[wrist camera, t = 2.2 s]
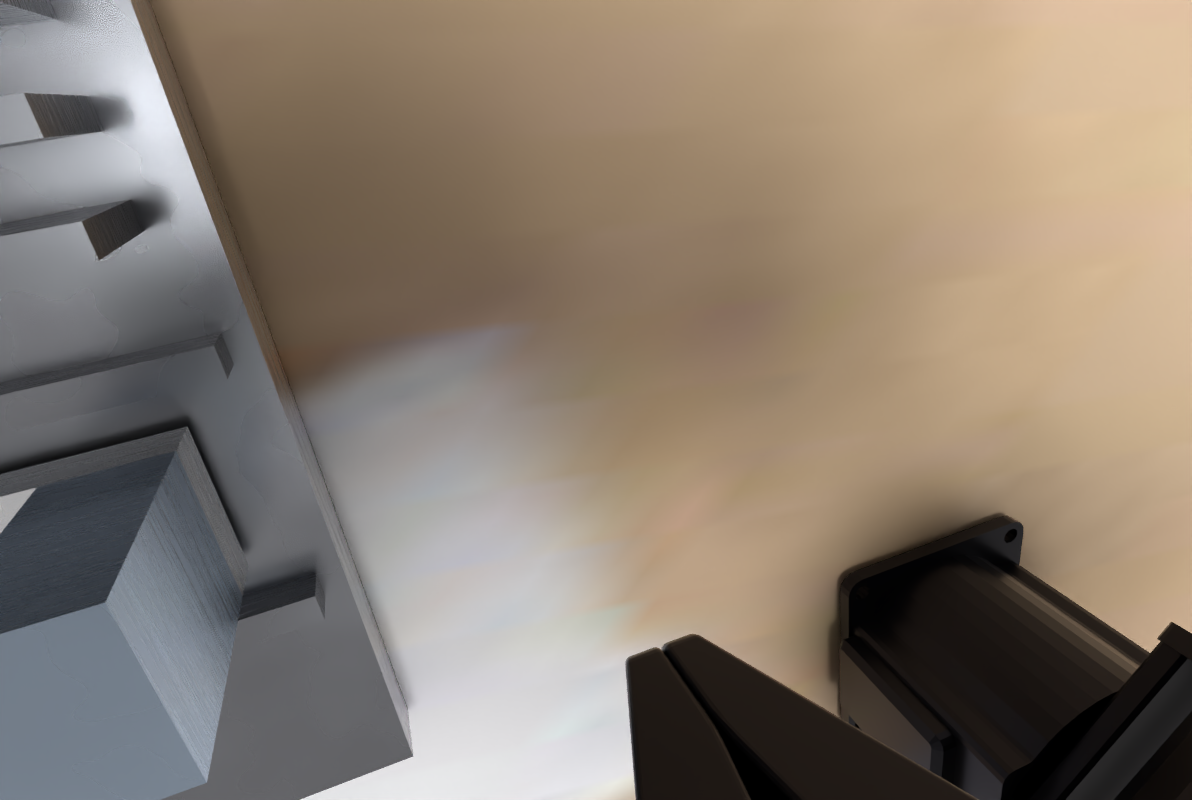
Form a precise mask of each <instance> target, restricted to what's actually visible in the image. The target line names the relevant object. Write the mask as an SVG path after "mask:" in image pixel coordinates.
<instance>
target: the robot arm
mask: <svg viewBox="0 0 1192 800" xmlns="http://www.w3.org/2000/svg"><path fill="white" fill-rule="evenodd" d="M1022 538H1023V526H1022V524H1021V523H1020V522H1018V521H1016V520H1015V519H1013V518H1011V517H1009V516H1002V517H999V518H996V519H994V520H991V521H988V522H986V523H983V524H980V525H978V526H975V527H972V528H970V529H967V530H964V531H962V532H959V533H956V534H954V535H951V536H948V537H946V538H943V539H940V540H938V541H935V542H932V543H930V544H927V545H924V546H922V547H919V548H916V549H914V550H911V551H908V552H906V553H903V554H900V555H898V556H895V557H892V558H890V559H887V560H884V561H882V562H879V563H876V564H873V565H871V566H868V567H865V568H863V569H860V570H857V571H855V572H853V573H851V574H849V575H848V576H847V577H846V578H845V579H844V581H843V583H842V584H841V589H840V625H841V645H840V649H839V661H840V704H841V718H839V717H837V716H836V715H834V714H832V713H831V712H829V711H827V710H826V709H824V708H822V707H820V706H819V705H817V704H815V703H814V702H812V701H810V700H809V699H807V698H805V697H803V696H802V695H800V694H798V693H797V692H795V691H793V690H792V689H790V688H788V687H786V686H785V685H783V684H781V683H780V682H778V681H776V680H775V679H773V678H771V677H769V676H768V675H766V674H764V673H763V672H761V671H759V670H758V669H756V668H754V667H752V666H751V665H749V664H747V663H746V662H744V661H742V660H741V659H739V658H737V657H735V656H734V655H732V654H730V653H729V652H727V651H725V650H723V649H722V648H720V647H718V646H717V645H715V644H713V643H712V642H710V641H708V640H706V639H705V638H703V637H701V636H699V635H696V634H689V635H687V636H684V637H681V638H679V639H676V640H673V641H670V642H668V643H666V644H664V645H663V647H662V649H659V648H656V647H655V648H652V649H649V650H646V651H644V652H641V653H638V654H635V655H633V656H630V657H628V658H627V660H626V679H627V692H628V705H629V718H630V731H631V744H632V757H633V770H634V783H635V796H636V800H1192V633H1190V632H1188V631H1186V630H1185V629H1183V628H1181V627H1180V626H1178V625H1176V624H1175V623H1173V622H1171V623H1170V624H1169V625H1168V626H1167V627H1166V629H1165V630H1164V631H1163V632H1162V633H1161V634H1160V636H1159V637H1158V638H1157V639H1158V640H1160V641H1161V642H1160V643H1159V644H1158V645H1157V646H1156V647H1155V649H1154V650H1153V651H1152V652H1151V653H1149V652H1147V651H1146V650H1144V649H1143V648H1141V647H1140V646H1139V645H1137V644H1136V643H1134V642H1133V641H1131V640H1130V639H1128V638H1127V637H1125V636H1124V635H1122V634H1121V633H1119V632H1118V631H1116V630H1115V629H1113V628H1112V627H1110V626H1109V625H1107V624H1106V623H1104V622H1103V621H1101V620H1100V619H1098V618H1097V617H1095V616H1094V615H1092V614H1091V613H1089V612H1088V611H1086V610H1085V609H1083V608H1082V607H1081V606H1079V605H1078V604H1076V603H1075V602H1073V601H1072V600H1070V599H1069V598H1067V597H1066V596H1064V595H1063V594H1061V593H1060V592H1058V591H1057V590H1055V589H1054V588H1052V587H1051V586H1049V585H1048V584H1046V583H1045V582H1043V581H1042V580H1040V579H1039V578H1037V577H1036V576H1034V575H1033V574H1031V573H1030V572H1028V571H1027V570H1025V569H1024V568H1022V567H1021V566H1020V565H1019V562H1020V554H1021V546H1022Z"/></svg>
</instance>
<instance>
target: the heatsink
mask: <svg viewBox="0 0 1192 800" xmlns="http://www.w3.org/2000/svg"><path fill="white" fill-rule="evenodd" d="M184 427H188V429H189V431H190V433H191V436H192V438H193V440H194V442H195V445H196V447H197V449H198V451H199V454H200V456H201V458H202V460H203V463H204V465H205V467H206V470H207V472H208V474H209V476H210V479H211V481H212V483H213V485H214V488H215V490H216V492H217V494H218V497H219V499H220V501H221V503H222V506H223V508H224V510H225V512H226V515H227V517H228V519H229V521H230V524H231V526H232V528H233V531H234V533H235V535H236V537H237V540H238V542H239V544H240V546H241V549H242V551H243V553H244V555H245V558H246V560H247V562H248V564H249V566H248V571H247V577H246V582H245V587H244V592H243V597H242V603H241V608H240V613H239V618H238V623H237V629H236V634H235V639H234V644H233V649H232V655H231V660H230V665H229V670H228V675H227V681H226V686H225V691H224V696H223V701H222V707H221V712H220V717H219V722H218V727H217V733H216V738H215V743H214V748H213V753H212V759H211V764H210V769H209V774H208V779H207V783H205V784H202V785H199V786H196V787H194V788H191V789H188V790H185V791H183V792H180V793H177V794H174V795H172V796H169V797H166V798H164V799H161V800H300V799H302V798H305V797H307V796H310V795H313V794H315V793H318V792H321V791H323V790H326V789H328V788H331V787H334V786H336V785H339V784H342V783H344V782H347V781H349V780H352V779H355V778H357V777H360V776H363V775H365V774H368V773H370V772H373V771H376V770H378V769H381V768H384V767H386V766H389V765H391V764H394V763H397V762H399V761H402V760H405V759H407V758H410V757H412V756H413V751H412V742H411V734H410V725H409V717H408V709H407V706H406V704H405V701H404V698H403V695H402V693H401V690H400V687H399V684H398V682H397V679H396V676H395V673H394V671H393V668H392V665H391V662H390V660H389V657H388V654H387V651H386V649H385V646H384V643H383V640H382V638H381V635H380V632H379V630H378V627H377V624H376V621H375V619H374V616H373V613H372V610H371V608H370V605H369V602H368V599H367V597H366V594H365V591H364V588H363V586H362V583H361V580H360V577H359V575H358V572H357V569H356V566H355V564H354V561H353V558H352V555H351V553H350V550H349V547H348V544H347V542H346V539H345V536H344V533H343V531H342V528H341V525H340V522H339V520H338V517H337V514H336V511H335V509H334V506H333V503H332V500H331V498H330V495H329V492H328V490H327V487H326V484H325V481H324V479H323V476H322V473H321V470H320V468H319V465H318V462H317V459H316V457H315V454H314V451H313V448H312V446H311V443H310V440H309V437H308V435H307V432H306V429H305V426H304V424H303V421H302V418H301V415H300V413H299V410H298V407H297V404H296V402H295V399H294V396H293V393H292V391H291V388H290V385H289V382H288V380H287V377H286V374H285V371H284V369H283V366H282V363H281V360H280V358H279V355H278V352H277V350H276V347H275V344H274V341H273V339H272V336H271V333H270V330H269V328H268V325H267V322H266V319H265V317H264V314H263V311H262V308H261V306H260V303H259V300H258V297H257V295H256V292H255V289H254V286H253V284H252V281H251V278H250V275H249V273H248V270H247V267H246V264H245V262H244V259H243V256H242V253H241V251H240V248H239V245H238V242H237V240H236V237H235V234H234V231H233V229H232V226H231V223H230V220H229V218H228V215H227V212H226V210H225V207H224V204H223V201H222V199H221V196H220V193H219V190H218V188H217V185H216V182H215V179H214V177H213V174H212V171H211V168H210V166H209V163H208V160H207V157H206V155H205V152H204V149H203V146H202V144H201V141H200V138H199V135H198V133H197V130H196V127H195V124H194V122H193V119H192V116H191V113H190V111H189V108H188V105H187V102H186V100H185V97H184V94H183V91H182V89H181V86H180V83H179V80H178V78H177V75H176V72H175V70H174V67H173V64H172V61H171V59H170V56H169V53H168V50H167V48H166V45H165V42H164V39H163V37H162V34H161V31H160V28H159V26H158V23H157V20H156V17H155V15H154V12H153V9H152V6H151V4H150V1H149V0H0V474H3V473H7V472H11V471H15V470H19V469H23V468H27V467H31V466H35V465H39V464H43V463H46V462H50V461H54V460H58V459H62V458H66V457H70V456H74V455H78V454H82V453H86V452H90V451H93V450H97V449H101V448H105V447H109V446H113V445H117V444H121V443H125V442H129V441H133V440H137V439H140V438H144V437H148V436H152V435H156V434H160V433H164V432H168V431H172V430H176V429H180V428H184Z"/></svg>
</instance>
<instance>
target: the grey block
mask: <svg viewBox="0 0 1192 800" xmlns="http://www.w3.org/2000/svg"><path fill="white" fill-rule="evenodd" d="M248 566H249V564H248V562H247V560H246V558H245V555H244V553H243V551H242V549H241V546H240V544H239V542H238V540H237V537H236V535H235V533H234V531H233V528H232V526H231V524H230V521H229V519H228V517H227V515H226V512H225V510H224V508H223V506H222V503H221V501H220V499H219V497H218V494H217V492H216V490H215V488H214V485H213V483H212V481H211V479H210V476H209V474H208V472H207V470H206V467H205V465H204V463H203V460H202V458H201V456H200V454H199V451H198V449H197V447H196V445H195V442H194V440H193V438H192V436H191V433H190V431H189V429H188V427H184V428H180V429H176V430H172V431H168V432H164V433H160V434H156V435H152V436H148V437H144V438H140V439H137V440H133V441H129V442H125V443H121V444H117V445H113V446H109V447H105V448H101V449H97V450H93V451H90V452H86V453H82V454H78V455H74V456H70V457H66V458H62V459H58V460H54V461H50V462H46V463H43V464H39V465H35V466H31V467H27V468H23V469H19V470H15V471H11V472H7V473H3V474H0V800H161V799H164V798H166V797H169V796H172V795H174V794H177V793H180V792H183V791H185V790H188V789H191V788H194V787H196V786H199V785H202V784H205V783H207V779H208V774H209V769H210V764H211V759H212V753H213V748H214V743H215V738H216V733H217V727H218V722H219V717H220V712H221V707H222V701H223V696H224V691H225V686H226V681H227V675H228V670H229V665H230V660H231V655H232V649H233V644H234V639H235V634H236V629H237V623H238V618H239V613H240V608H241V603H242V597H243V592H244V587H245V582H246V577H247V571H248Z"/></svg>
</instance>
